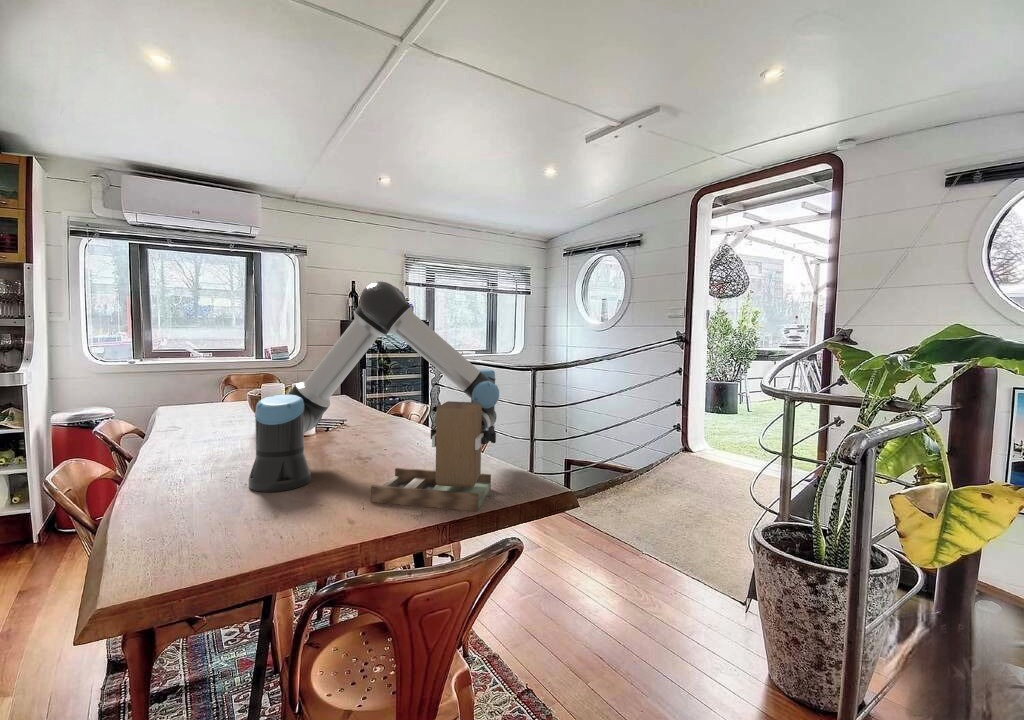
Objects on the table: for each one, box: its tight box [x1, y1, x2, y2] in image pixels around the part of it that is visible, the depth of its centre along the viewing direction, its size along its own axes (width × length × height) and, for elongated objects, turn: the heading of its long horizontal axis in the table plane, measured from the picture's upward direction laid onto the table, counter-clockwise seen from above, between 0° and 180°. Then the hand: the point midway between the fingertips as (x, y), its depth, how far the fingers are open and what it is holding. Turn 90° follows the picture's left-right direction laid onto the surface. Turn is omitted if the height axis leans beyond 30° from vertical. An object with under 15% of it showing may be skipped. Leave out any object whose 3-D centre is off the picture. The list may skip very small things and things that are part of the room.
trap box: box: [370, 467, 492, 512], centre depth 119 cm, size 27×16×4 cm, turn 81°
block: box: [435, 400, 482, 487], centre depth 117 cm, size 10×10×20 cm
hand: (454, 443), depth 113 cm, fingers closed on block, 10 cm apart
